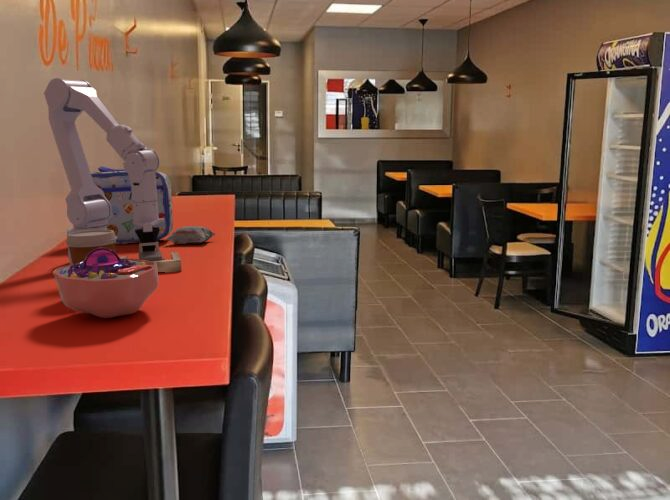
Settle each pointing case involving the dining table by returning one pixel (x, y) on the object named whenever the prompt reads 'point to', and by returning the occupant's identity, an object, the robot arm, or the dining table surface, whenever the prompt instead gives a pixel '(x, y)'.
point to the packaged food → (190, 235)
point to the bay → (168, 263)
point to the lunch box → (122, 208)
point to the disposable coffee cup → (89, 243)
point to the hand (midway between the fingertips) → (149, 258)
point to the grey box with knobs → (150, 252)
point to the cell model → (106, 284)
